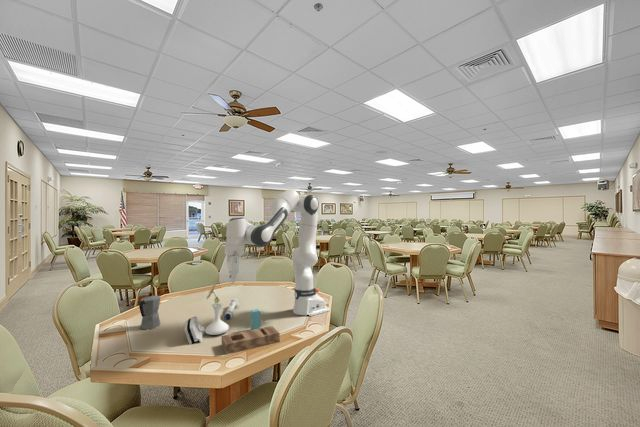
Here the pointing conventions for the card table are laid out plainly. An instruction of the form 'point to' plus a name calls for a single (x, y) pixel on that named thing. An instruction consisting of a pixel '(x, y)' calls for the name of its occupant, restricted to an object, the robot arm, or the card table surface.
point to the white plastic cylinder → (231, 309)
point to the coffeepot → (150, 312)
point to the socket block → (250, 339)
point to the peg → (255, 319)
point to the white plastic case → (194, 330)
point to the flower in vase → (216, 318)
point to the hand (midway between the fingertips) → (232, 280)
